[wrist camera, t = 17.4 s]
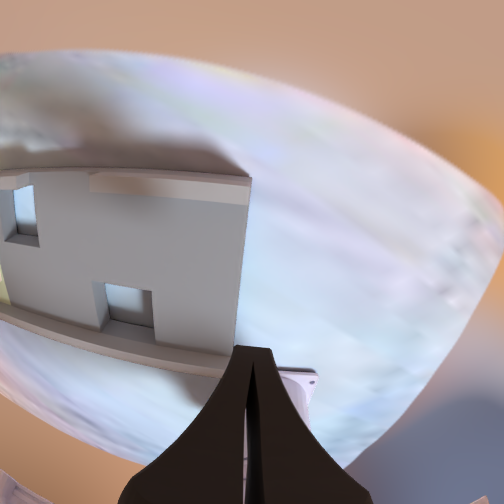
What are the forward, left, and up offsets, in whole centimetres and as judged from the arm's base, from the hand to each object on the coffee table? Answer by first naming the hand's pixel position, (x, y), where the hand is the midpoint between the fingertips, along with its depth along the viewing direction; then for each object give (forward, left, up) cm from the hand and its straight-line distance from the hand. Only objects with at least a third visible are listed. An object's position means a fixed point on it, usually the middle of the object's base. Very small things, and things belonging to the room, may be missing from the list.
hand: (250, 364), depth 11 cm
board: (-2, +15, -10) cm, 18 cm away
